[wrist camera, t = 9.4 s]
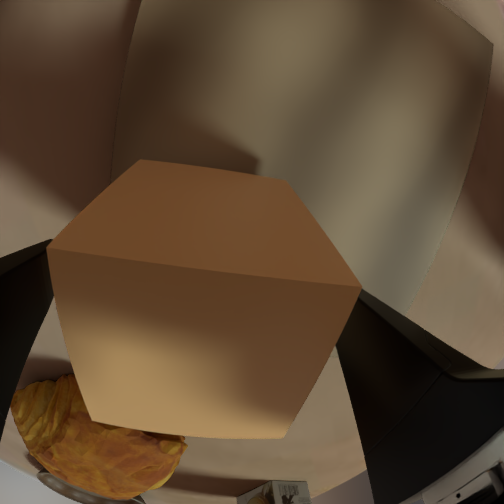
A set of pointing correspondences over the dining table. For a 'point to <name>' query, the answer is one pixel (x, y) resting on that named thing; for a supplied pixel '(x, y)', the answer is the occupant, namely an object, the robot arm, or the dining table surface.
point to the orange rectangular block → (198, 301)
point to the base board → (318, 114)
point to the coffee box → (278, 493)
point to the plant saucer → (80, 491)
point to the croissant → (91, 442)
